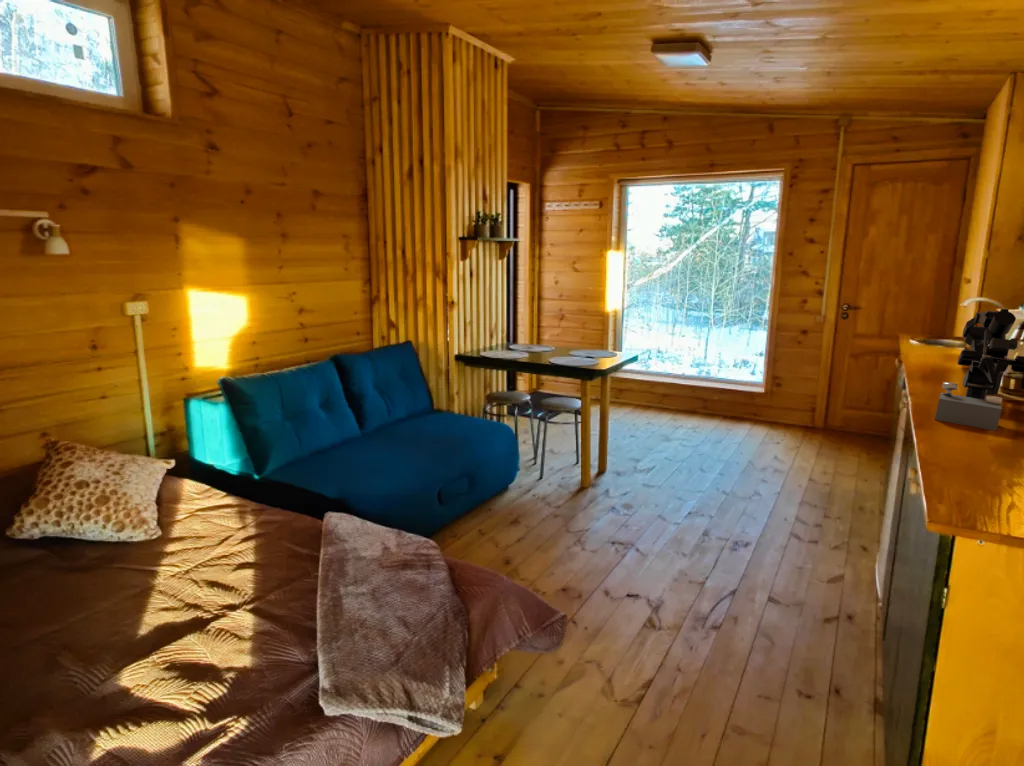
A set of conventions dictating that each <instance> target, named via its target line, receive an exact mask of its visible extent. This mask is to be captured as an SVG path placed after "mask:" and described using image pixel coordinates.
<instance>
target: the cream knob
mask: <svg viewBox="0 0 1024 766" xmlns="http://www.w3.org/2000/svg"><path fill="white" fill-rule="evenodd" d="M985 400H986V402H989V403H993V404H1001V405H1002V401H1003V397H1000V396H997V395H986V397H985Z"/></svg>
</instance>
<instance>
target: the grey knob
mask: <svg viewBox="0 0 1024 766" xmlns="http://www.w3.org/2000/svg"><path fill="white" fill-rule="evenodd" d="M958 386H959V385H958V384H957V383H955V382H949V381H943V382H942V385H941V388H942V389H945V396H951V394H952V391H957V389H958Z"/></svg>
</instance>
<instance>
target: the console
mask: <svg viewBox="0 0 1024 766" xmlns="http://www.w3.org/2000/svg"><path fill="white" fill-rule="evenodd" d="M1002 410H1003V408H1002V403H1001V404H993V403H989V402H986V399H985V400H983V399H977V398H970V397H965V395H964V396H962V395H958V394H952V393H951V396H945V393H944V392H940V394H939V397H938V403H937V407H936V411H935V416H934V420H935V421H940V422H945V423H951V424H956V425H962V426H968V427H972V428H973V427H974V428H979V429H984V430H988V431H995V432H996V431H997V430H998V425H999V422H1000V418H1001V414H1002Z"/></svg>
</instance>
